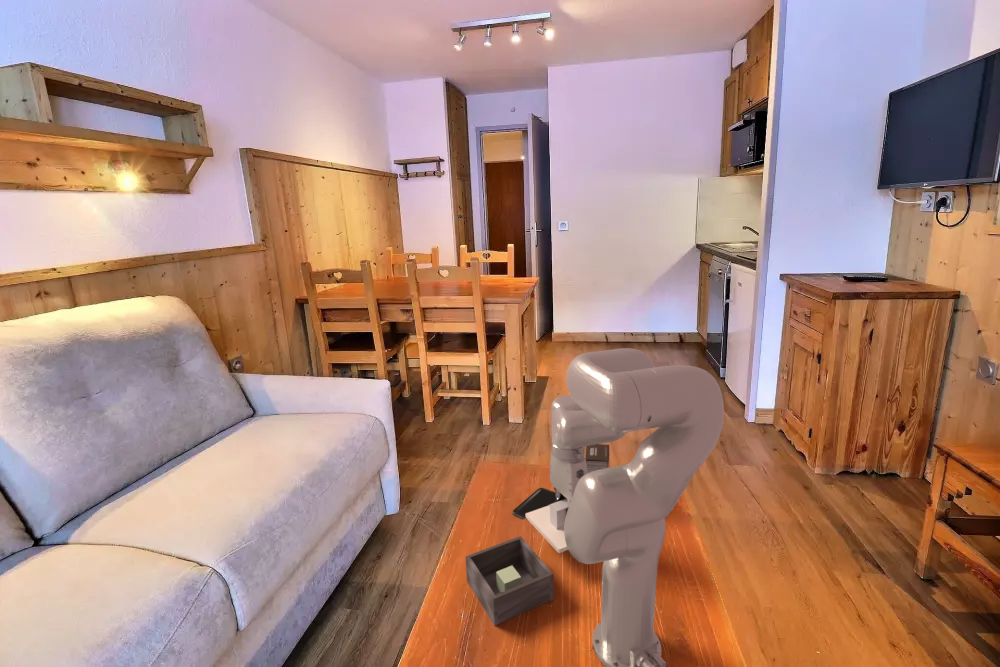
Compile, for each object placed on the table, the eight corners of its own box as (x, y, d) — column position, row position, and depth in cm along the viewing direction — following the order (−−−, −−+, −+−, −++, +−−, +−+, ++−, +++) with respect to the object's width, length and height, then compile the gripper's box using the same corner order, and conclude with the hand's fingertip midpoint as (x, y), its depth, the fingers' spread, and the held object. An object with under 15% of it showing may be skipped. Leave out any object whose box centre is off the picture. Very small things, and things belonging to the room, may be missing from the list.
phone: (510, 512, 134) (540, 486, 146) (511, 515, 135) (540, 490, 146) (535, 522, 130) (563, 495, 141) (535, 526, 130) (563, 498, 142)
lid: (611, 531, 116) (612, 509, 114) (558, 553, 109) (558, 530, 108) (574, 499, 128) (574, 479, 127) (525, 517, 122) (525, 495, 120)
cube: (521, 592, 107) (521, 576, 106) (505, 599, 105) (504, 583, 104) (512, 580, 110) (512, 565, 109) (496, 587, 109) (496, 571, 107)
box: (553, 601, 105) (553, 573, 103) (494, 628, 99) (493, 599, 97) (521, 561, 117) (520, 535, 115) (467, 582, 111) (465, 556, 109)
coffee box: (585, 492, 143) (586, 442, 139) (608, 494, 142) (609, 444, 138) (584, 511, 135) (585, 458, 131) (608, 513, 133) (609, 460, 129)
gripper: (603, 460, 108) (601, 532, 113) (561, 431, 122) (561, 496, 127) (575, 469, 105) (574, 543, 110) (535, 438, 119) (536, 504, 124)
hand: (567, 517), depth 118 cm, fingers closed on lid, 3 cm apart
